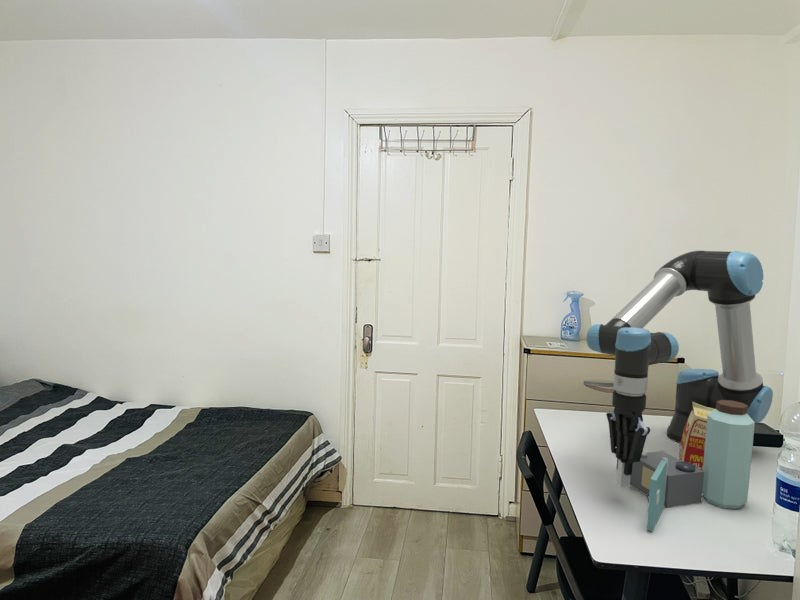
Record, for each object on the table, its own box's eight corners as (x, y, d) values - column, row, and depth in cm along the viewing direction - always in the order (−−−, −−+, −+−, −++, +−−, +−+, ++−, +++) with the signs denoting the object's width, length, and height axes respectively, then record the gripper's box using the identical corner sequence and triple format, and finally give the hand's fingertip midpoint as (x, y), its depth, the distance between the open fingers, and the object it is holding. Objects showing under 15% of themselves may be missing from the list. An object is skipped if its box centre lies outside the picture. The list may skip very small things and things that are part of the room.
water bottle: (746, 514, 133) (756, 412, 130) (699, 503, 138) (707, 405, 135) (746, 498, 141) (756, 402, 138) (702, 488, 146) (710, 395, 144)
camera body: (659, 478, 152) (662, 447, 151) (701, 502, 138) (704, 467, 137) (626, 483, 149) (628, 450, 148) (665, 507, 135) (668, 472, 134)
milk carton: (681, 476, 154) (687, 405, 152) (677, 463, 163) (682, 396, 160) (718, 481, 151) (725, 409, 149) (712, 468, 159) (718, 400, 157)
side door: (658, 504, 136) (662, 456, 135) (665, 506, 135) (669, 458, 134) (646, 529, 124) (650, 477, 123) (653, 531, 123) (657, 479, 122)
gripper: (599, 386, 140) (593, 476, 143) (635, 400, 128) (628, 499, 130) (624, 384, 142) (618, 473, 145) (662, 398, 130) (655, 495, 132)
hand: (623, 485), depth 137 cm, fingers closed
